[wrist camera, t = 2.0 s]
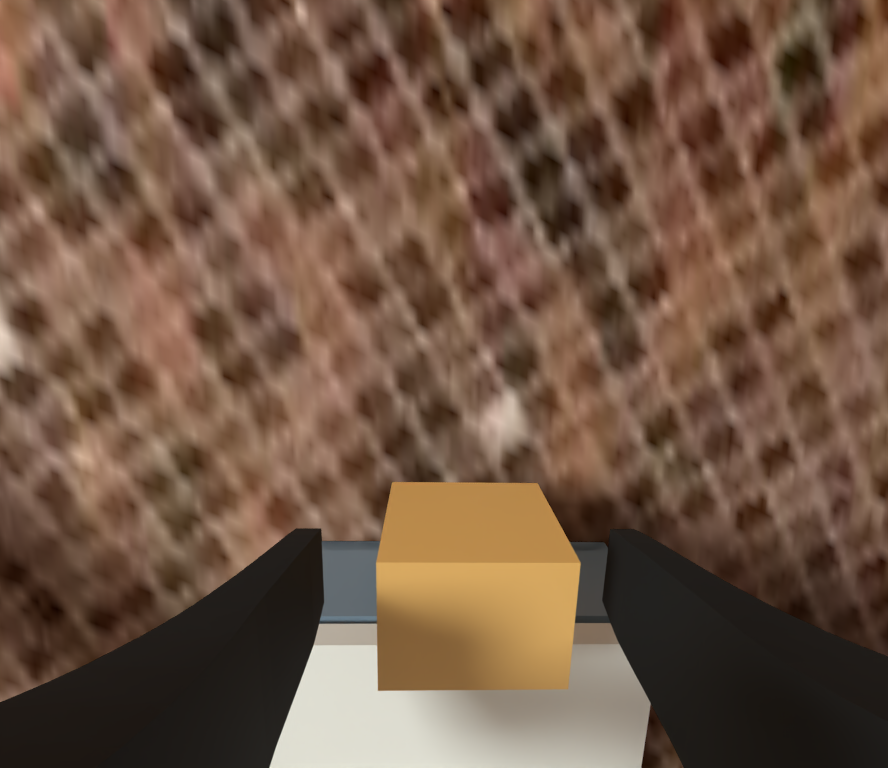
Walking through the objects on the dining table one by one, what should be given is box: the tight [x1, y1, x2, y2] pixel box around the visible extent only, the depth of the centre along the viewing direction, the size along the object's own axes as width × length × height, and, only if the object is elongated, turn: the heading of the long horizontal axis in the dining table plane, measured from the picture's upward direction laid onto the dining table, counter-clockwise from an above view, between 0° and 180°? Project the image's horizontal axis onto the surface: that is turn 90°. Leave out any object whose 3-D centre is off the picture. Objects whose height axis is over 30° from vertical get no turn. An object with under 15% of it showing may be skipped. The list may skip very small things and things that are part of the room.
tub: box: [319, 541, 610, 624], centre depth 17 cm, size 12×14×4 cm
